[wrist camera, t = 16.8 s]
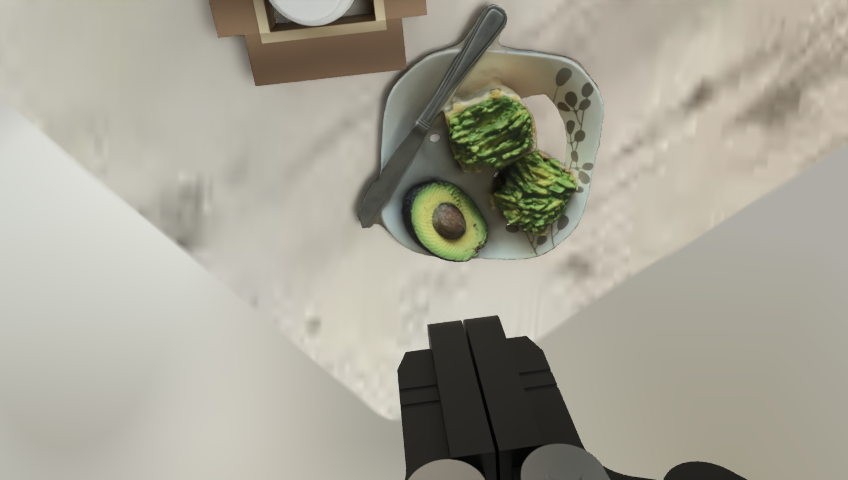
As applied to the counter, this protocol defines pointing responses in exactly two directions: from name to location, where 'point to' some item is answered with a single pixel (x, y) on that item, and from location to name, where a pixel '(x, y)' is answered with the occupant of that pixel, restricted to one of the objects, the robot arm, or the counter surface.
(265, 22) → the open cardboard box
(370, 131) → the counter surface
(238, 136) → the counter surface
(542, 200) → the avocado toast plate
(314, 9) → the supplement bottle
